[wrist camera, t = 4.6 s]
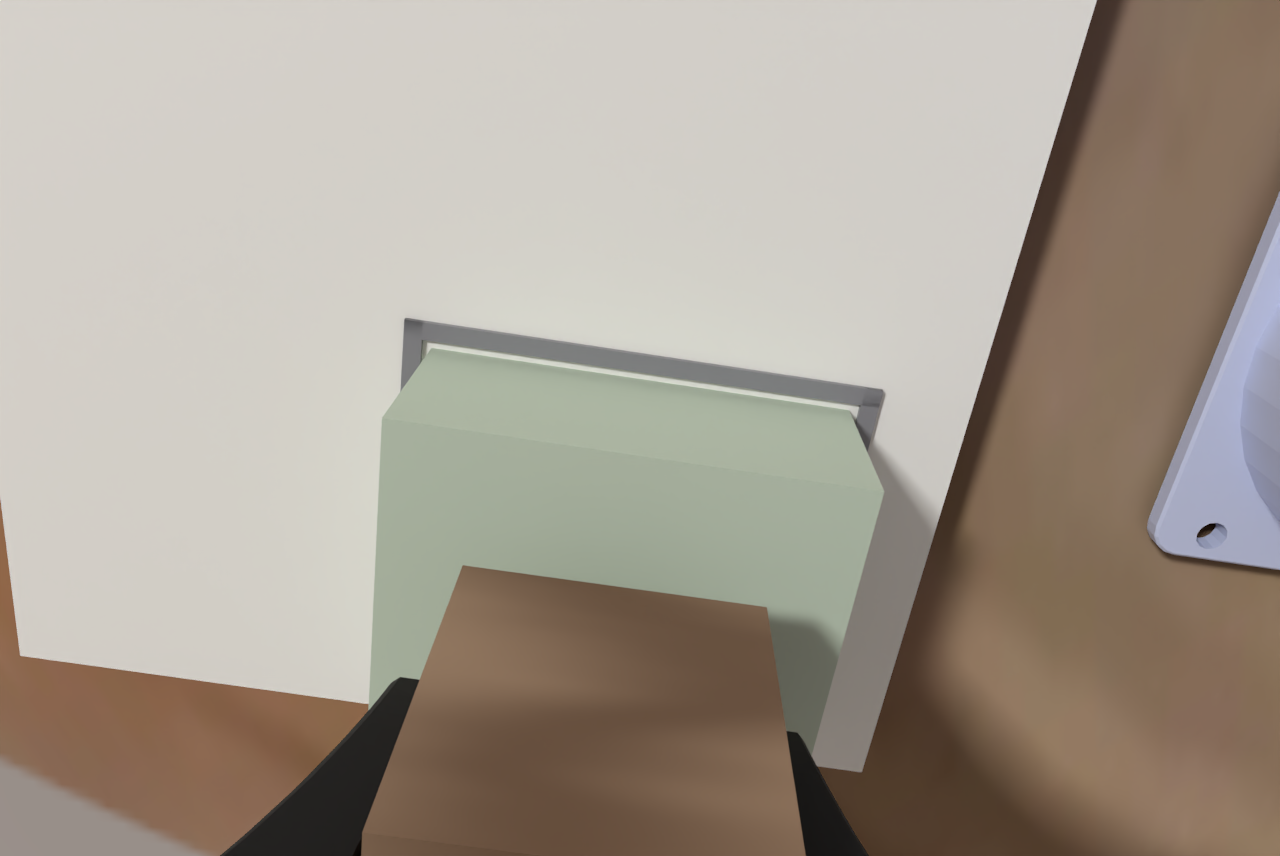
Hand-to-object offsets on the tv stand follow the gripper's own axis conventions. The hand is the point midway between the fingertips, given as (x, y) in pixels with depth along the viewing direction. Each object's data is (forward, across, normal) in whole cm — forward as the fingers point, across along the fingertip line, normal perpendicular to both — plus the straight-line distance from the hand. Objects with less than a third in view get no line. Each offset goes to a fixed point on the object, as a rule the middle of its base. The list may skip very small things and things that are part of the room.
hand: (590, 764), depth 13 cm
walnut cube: (+1, 0, 0) cm, 1 cm away
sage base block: (+5, 0, 0) cm, 5 cm away
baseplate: (+6, +3, -4) cm, 8 cm away
